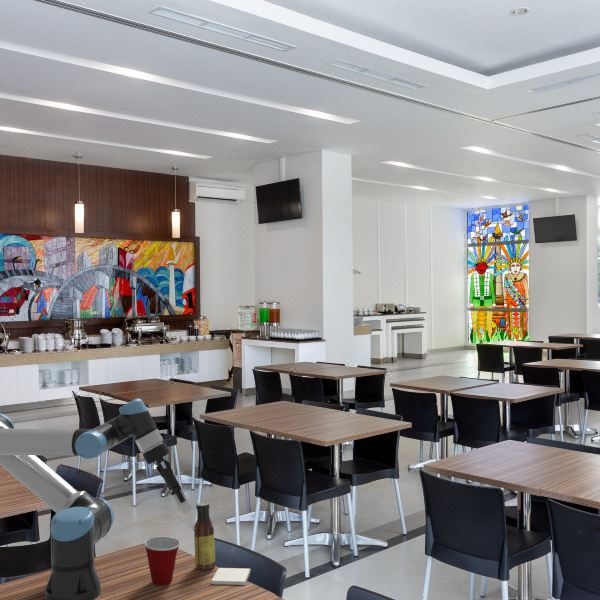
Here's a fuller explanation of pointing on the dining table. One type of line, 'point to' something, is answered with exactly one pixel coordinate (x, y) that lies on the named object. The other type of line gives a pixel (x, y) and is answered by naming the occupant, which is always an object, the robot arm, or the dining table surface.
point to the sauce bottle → (204, 538)
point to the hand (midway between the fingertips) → (185, 509)
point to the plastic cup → (161, 558)
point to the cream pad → (231, 576)
